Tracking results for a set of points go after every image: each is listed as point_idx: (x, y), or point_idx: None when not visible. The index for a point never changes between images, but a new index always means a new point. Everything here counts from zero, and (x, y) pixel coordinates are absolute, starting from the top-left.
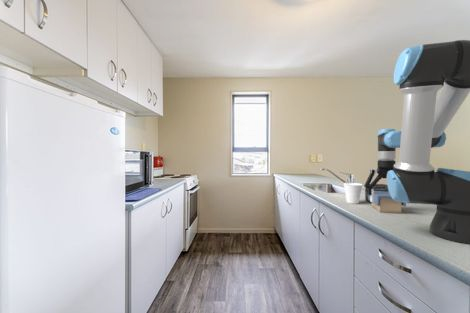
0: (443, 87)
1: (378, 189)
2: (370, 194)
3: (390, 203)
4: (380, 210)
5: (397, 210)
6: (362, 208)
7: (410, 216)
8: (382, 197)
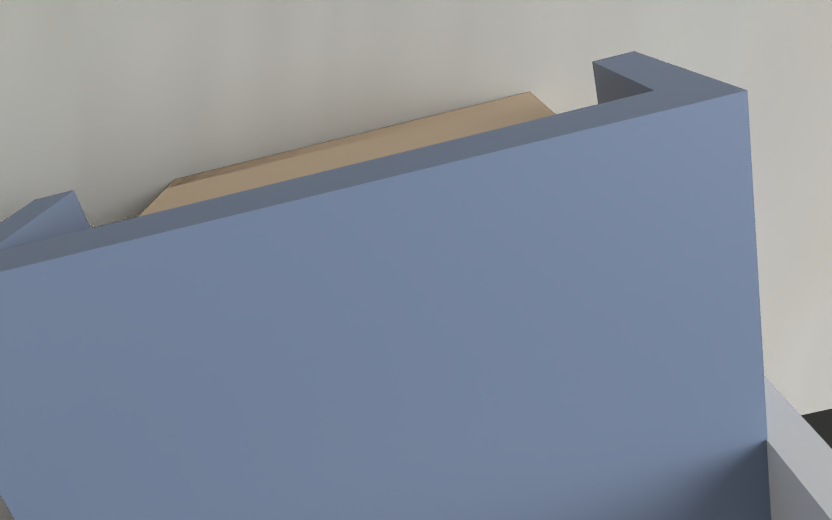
0: None
1: None
2: (820, 430)
3: None
4: (530, 99)
5: (227, 177)
6: (788, 261)
7: (29, 4)
8: (573, 117)
